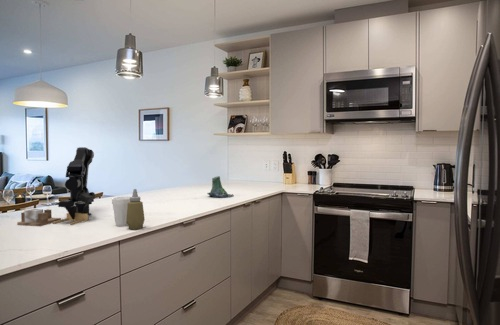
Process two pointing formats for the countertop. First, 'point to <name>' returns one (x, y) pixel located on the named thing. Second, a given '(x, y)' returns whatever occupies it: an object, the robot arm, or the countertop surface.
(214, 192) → the tree stump
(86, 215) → the wooden c-shaped bracket
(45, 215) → the display stand
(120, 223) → the foam cup
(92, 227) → the countertop surface
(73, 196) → the robot arm
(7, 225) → the countertop surface
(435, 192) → the countertop surface
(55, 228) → the countertop surface
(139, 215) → the squeeze bottle
